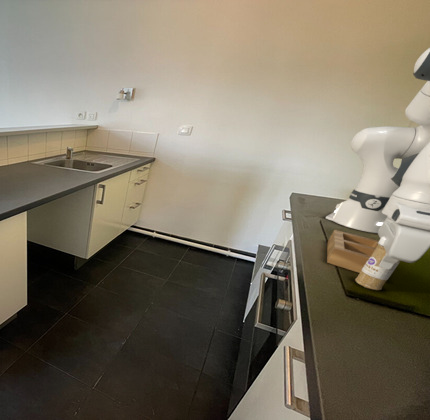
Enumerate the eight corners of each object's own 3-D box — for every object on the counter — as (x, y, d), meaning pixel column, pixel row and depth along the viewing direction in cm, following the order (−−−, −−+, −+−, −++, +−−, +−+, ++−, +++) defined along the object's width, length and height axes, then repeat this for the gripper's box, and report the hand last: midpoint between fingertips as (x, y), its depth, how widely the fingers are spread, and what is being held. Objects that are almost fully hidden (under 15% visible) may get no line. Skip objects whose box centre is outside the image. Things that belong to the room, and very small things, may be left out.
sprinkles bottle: (349, 279, 66) (376, 234, 61) (366, 280, 66) (395, 236, 60) (368, 290, 61) (399, 244, 56) (387, 291, 61) (419, 245, 56)
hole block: (327, 242, 86) (334, 229, 84) (376, 255, 79) (384, 242, 77) (326, 262, 73) (334, 248, 71) (384, 280, 66) (395, 265, 64)
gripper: (387, 199, 64) (359, 244, 70) (401, 218, 51) (366, 272, 57) (427, 206, 60) (395, 254, 65) (454, 228, 47) (411, 286, 52)
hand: (382, 262), depth 61 cm, fingers closed on sprinkles bottle, 4 cm apart
